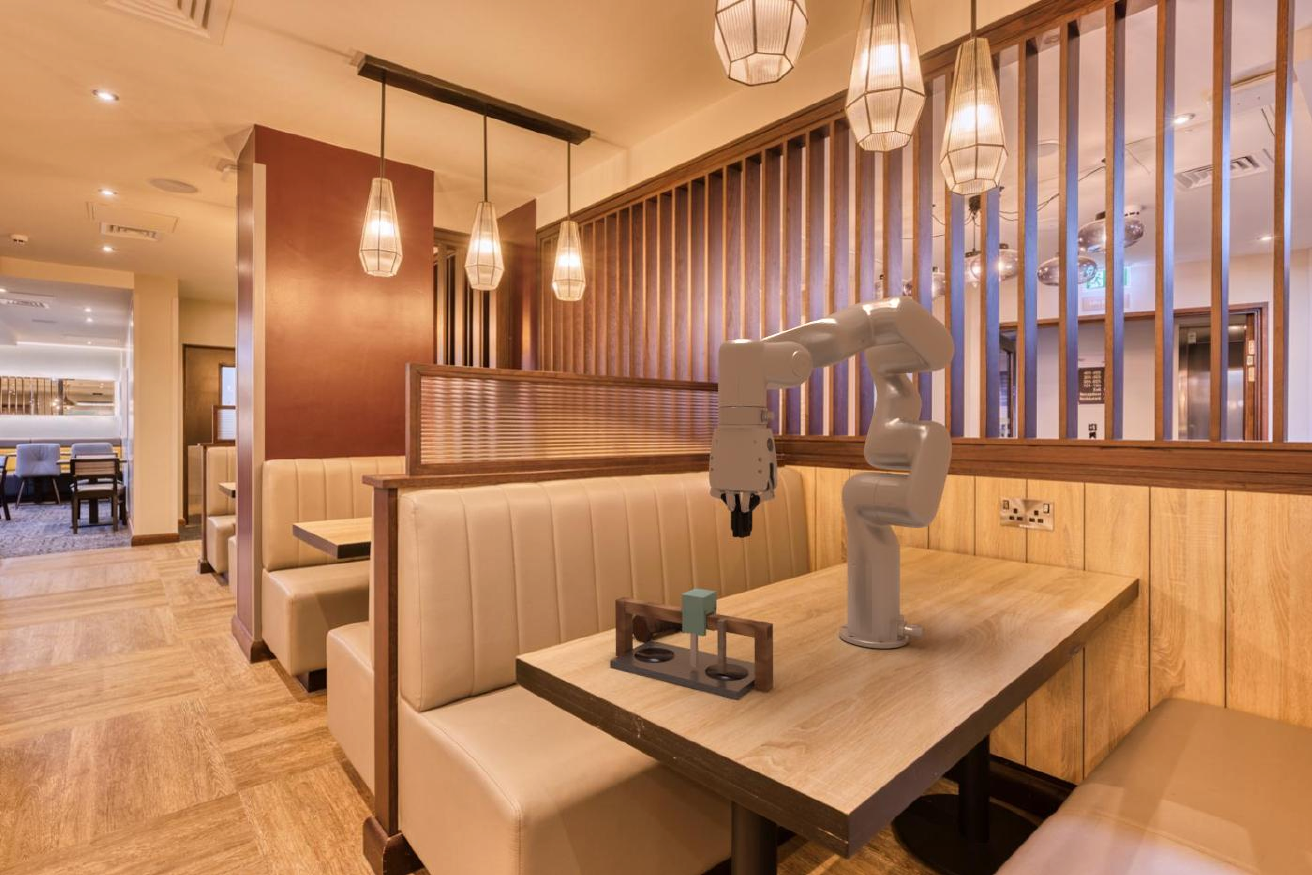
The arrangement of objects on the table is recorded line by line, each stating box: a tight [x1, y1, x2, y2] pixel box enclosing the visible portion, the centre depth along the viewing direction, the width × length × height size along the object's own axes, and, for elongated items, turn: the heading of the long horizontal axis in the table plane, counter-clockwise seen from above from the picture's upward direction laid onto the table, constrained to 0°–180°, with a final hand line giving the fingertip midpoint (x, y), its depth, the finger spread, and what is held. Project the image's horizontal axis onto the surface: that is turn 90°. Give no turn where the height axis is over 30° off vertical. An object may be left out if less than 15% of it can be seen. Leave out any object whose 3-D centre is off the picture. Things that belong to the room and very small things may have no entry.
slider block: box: [681, 587, 718, 667], centre depth 108 cm, size 4×4×12 cm
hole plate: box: [609, 640, 755, 701], centre depth 109 cm, size 24×12×1 cm, turn 56°
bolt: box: [633, 614, 683, 644], centre depth 129 cm, size 6×5×15 cm
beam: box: [614, 596, 774, 693], centre depth 108 cm, size 29×3×10 cm, turn 56°
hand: (741, 536), depth 103 cm, fingers closed
